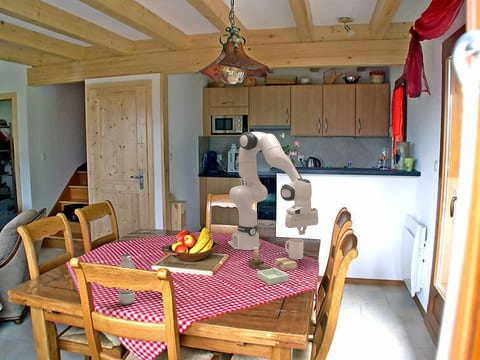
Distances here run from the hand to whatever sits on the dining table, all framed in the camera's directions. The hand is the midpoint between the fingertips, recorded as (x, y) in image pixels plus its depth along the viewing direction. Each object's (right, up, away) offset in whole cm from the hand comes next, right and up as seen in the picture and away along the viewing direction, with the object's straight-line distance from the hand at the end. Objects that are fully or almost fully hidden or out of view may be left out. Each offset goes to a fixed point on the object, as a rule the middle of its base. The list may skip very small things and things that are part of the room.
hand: (301, 234), depth 204 cm
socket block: (-25, -17, -4) cm, 30 cm away
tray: (-18, -19, -20) cm, 33 cm away
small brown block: (-20, -18, -9) cm, 28 cm away
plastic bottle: (-79, -21, -50) cm, 96 cm away
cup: (-2, -15, +16) cm, 22 cm away
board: (-9, -17, -3) cm, 20 cm away
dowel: (-25, -16, -4) cm, 30 cm away
